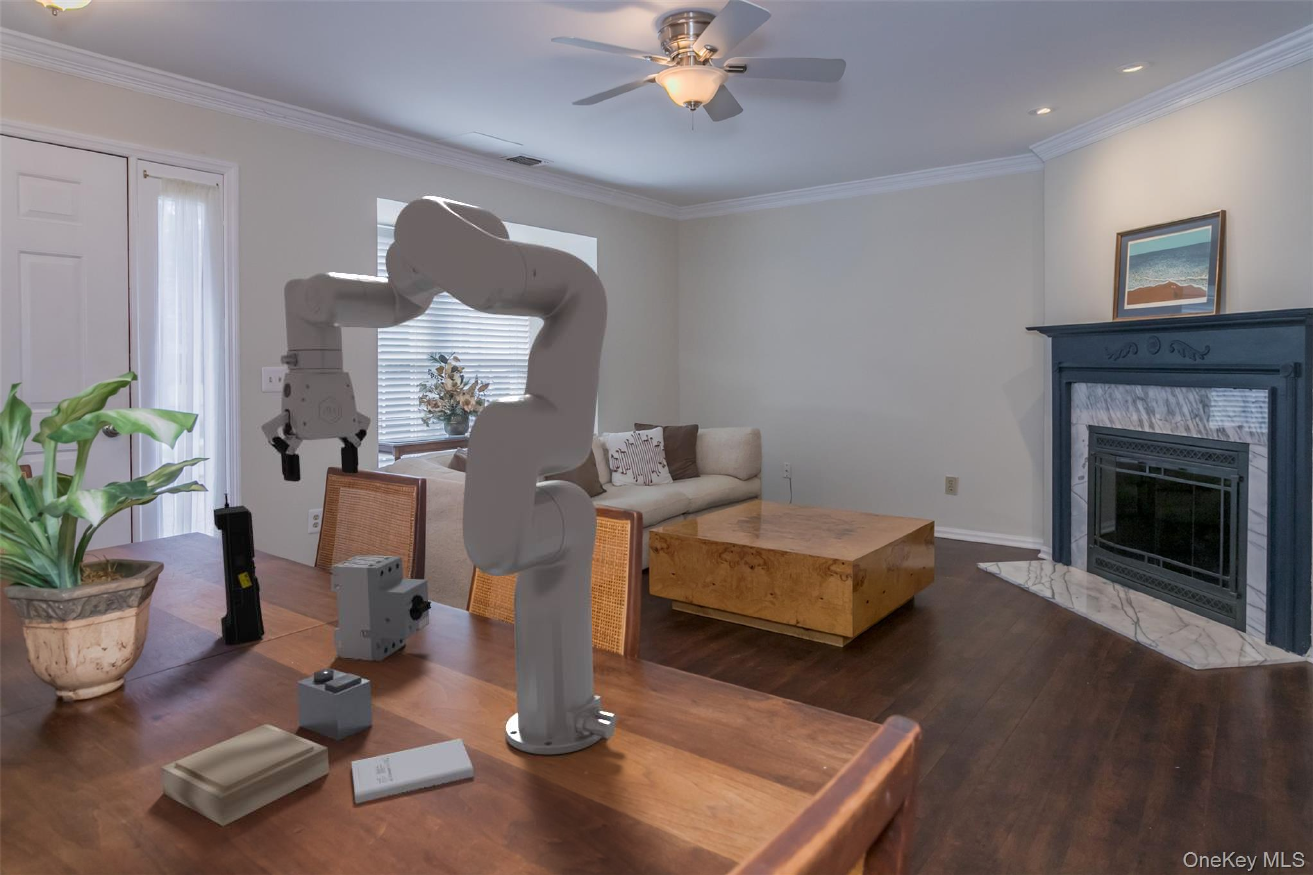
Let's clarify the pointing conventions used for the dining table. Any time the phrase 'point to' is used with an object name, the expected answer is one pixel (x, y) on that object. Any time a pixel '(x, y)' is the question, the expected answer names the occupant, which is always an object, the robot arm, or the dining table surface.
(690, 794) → the dining table surface
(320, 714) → the housing
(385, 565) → the circuit breaker
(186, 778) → the stand
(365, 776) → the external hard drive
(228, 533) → the portable radio
